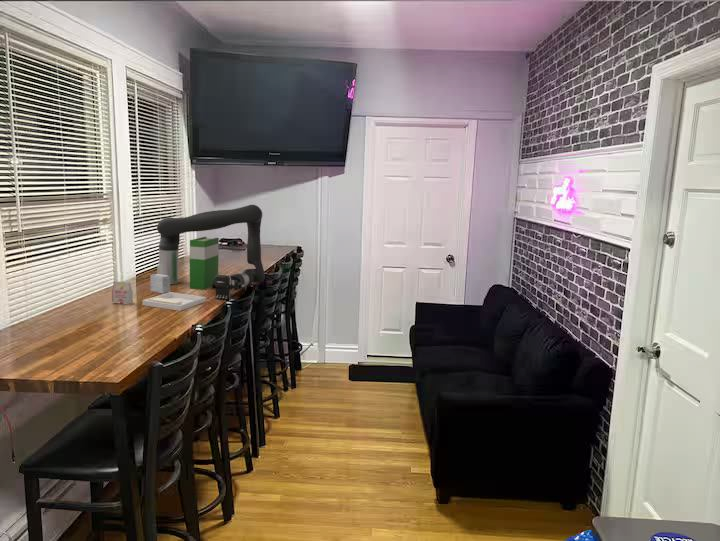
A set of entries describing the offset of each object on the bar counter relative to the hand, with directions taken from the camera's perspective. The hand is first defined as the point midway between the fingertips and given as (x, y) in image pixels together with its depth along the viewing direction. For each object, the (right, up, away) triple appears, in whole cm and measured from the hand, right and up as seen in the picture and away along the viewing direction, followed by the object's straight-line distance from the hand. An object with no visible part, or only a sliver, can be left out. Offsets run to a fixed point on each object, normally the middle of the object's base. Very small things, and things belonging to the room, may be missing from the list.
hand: (219, 287), depth 221 cm
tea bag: (-36, -7, -17) cm, 40 cm away
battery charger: (0, -6, +3) cm, 7 cm away
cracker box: (-17, -7, -18) cm, 26 cm away
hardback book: (-16, 0, +29) cm, 33 cm away
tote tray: (-16, -7, -12) cm, 21 cm away
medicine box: (-30, -3, +7) cm, 31 cm away
